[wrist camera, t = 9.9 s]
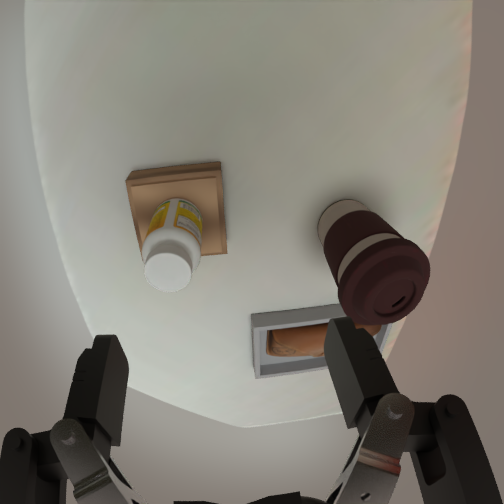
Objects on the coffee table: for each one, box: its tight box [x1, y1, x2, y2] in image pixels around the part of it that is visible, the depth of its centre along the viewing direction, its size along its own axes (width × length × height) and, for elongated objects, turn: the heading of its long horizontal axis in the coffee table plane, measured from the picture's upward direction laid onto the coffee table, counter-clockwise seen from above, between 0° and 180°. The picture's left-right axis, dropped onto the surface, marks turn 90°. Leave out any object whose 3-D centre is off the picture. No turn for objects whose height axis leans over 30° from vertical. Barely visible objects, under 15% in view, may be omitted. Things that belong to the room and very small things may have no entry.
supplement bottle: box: [142, 198, 202, 292], centre depth 30 cm, size 5×5×10 cm
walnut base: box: [126, 162, 227, 260], centre depth 35 cm, size 10×10×4 cm
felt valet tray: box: [251, 304, 393, 379], centre depth 50 cm, size 13×23×3 cm, turn 92°
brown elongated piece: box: [266, 322, 382, 357], centre depth 49 cm, size 18×7×7 cm
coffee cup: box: [318, 200, 430, 325], centre depth 34 cm, size 10×10×15 cm
